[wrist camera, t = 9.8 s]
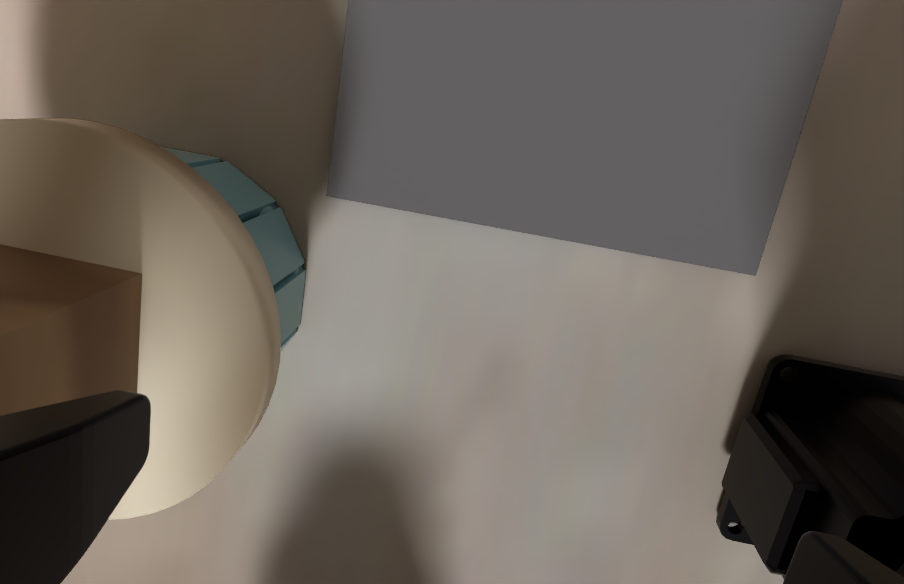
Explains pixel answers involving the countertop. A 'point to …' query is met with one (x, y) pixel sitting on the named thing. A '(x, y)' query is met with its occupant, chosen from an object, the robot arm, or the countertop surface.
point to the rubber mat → (582, 117)
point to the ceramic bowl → (260, 233)
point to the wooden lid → (132, 297)
